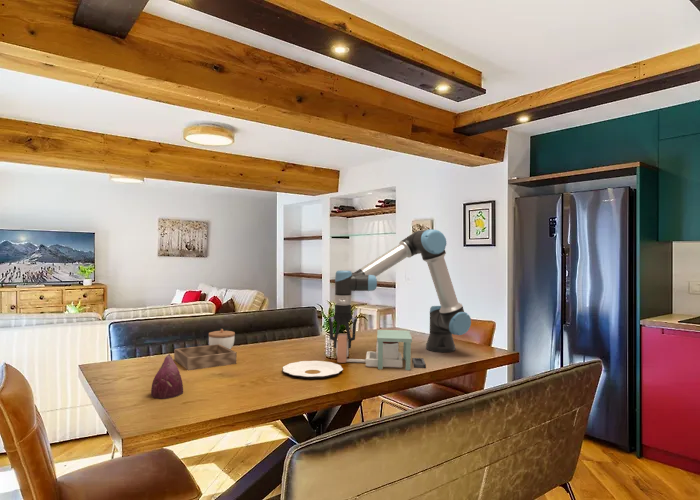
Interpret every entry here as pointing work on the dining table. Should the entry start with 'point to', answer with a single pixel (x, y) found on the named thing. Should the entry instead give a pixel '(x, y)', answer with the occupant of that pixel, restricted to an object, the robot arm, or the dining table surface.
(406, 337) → the mint green stool
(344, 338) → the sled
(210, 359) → the brown wooden tray
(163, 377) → the vegetable
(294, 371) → the plate
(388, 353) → the cup
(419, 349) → the dining table surface
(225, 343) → the lidded bowl
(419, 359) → the pit tray
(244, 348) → the dining table surface
